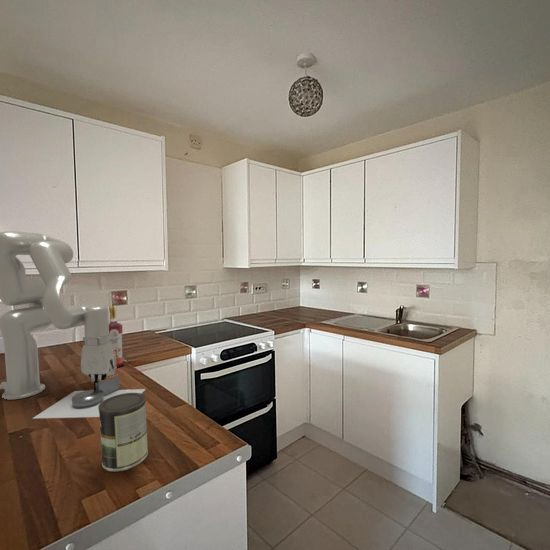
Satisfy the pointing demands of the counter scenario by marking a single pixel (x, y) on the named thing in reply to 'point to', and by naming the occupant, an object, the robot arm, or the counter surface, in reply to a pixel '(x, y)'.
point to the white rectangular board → (68, 411)
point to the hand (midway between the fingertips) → (99, 391)
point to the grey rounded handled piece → (96, 392)
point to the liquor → (115, 335)
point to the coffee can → (123, 431)
